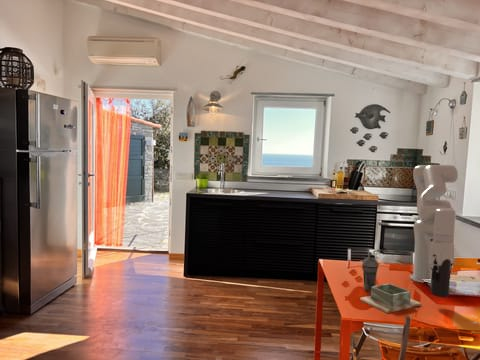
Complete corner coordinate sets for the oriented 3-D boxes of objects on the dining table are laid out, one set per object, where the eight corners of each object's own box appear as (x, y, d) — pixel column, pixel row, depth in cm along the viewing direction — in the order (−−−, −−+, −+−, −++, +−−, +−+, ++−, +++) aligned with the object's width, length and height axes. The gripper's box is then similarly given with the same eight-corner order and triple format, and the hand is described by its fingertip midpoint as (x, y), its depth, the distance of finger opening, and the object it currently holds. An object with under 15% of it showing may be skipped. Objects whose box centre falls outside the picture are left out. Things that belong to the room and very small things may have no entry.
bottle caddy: (392, 293, 170) (393, 280, 170) (421, 305, 157) (421, 291, 156) (360, 299, 161) (360, 286, 161) (387, 313, 148) (387, 298, 148)
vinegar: (433, 290, 160) (436, 245, 159) (450, 294, 156) (453, 248, 154) (428, 294, 156) (430, 248, 154) (445, 299, 151) (448, 251, 149)
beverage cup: (378, 292, 171) (380, 250, 170) (362, 291, 172) (363, 249, 171) (375, 287, 178) (377, 247, 177) (360, 286, 179) (361, 245, 178)
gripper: (448, 234, 161) (445, 274, 162) (421, 237, 153) (419, 279, 155) (465, 238, 154) (462, 279, 156) (438, 242, 147) (435, 285, 148)
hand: (440, 279), depth 155 cm, fingers closed on vinegar, 5 cm apart
